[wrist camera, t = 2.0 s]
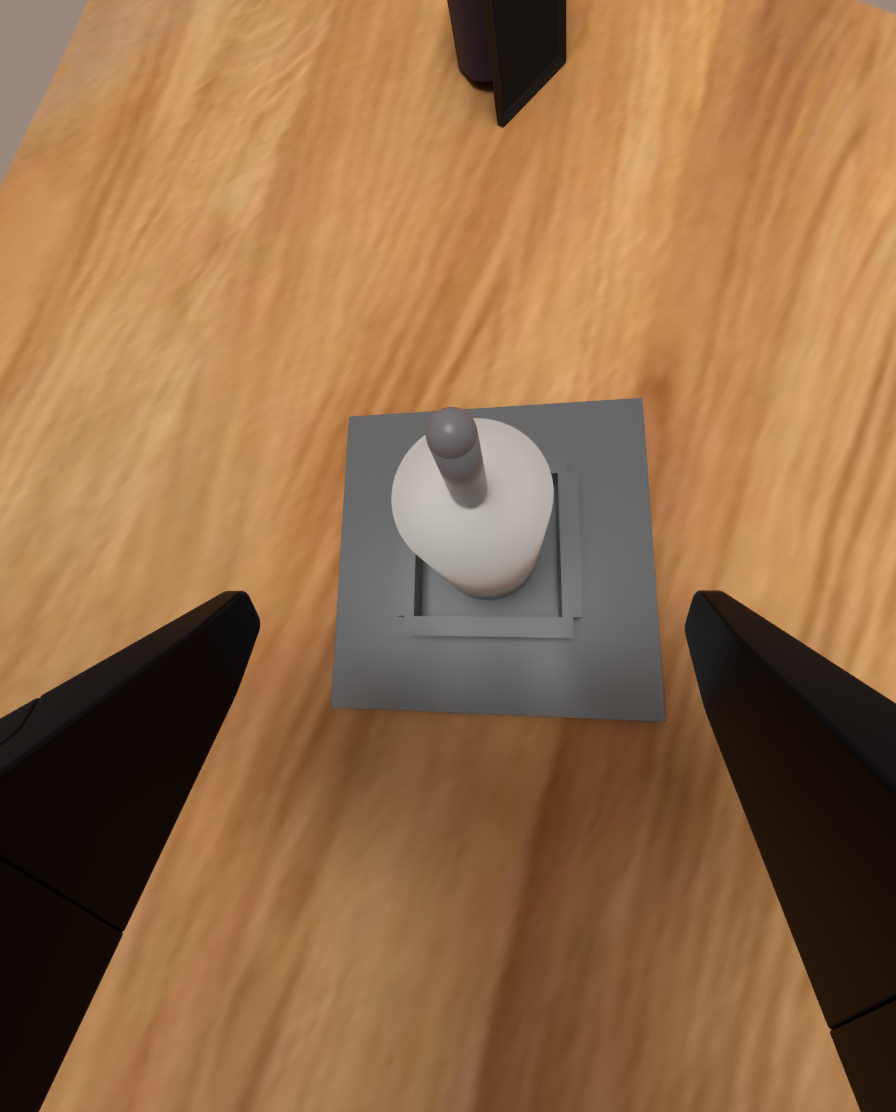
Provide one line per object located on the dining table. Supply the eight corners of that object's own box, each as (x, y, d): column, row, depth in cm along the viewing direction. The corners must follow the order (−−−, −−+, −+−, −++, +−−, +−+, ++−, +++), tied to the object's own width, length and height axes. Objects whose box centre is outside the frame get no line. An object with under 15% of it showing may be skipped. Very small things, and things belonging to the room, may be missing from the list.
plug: (557, 567, 19) (625, 456, 7) (470, 618, 19) (397, 588, 7) (505, 486, 20) (491, 272, 8) (423, 534, 20) (295, 392, 8)
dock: (661, 719, 18) (679, 729, 16) (335, 705, 20) (315, 712, 18) (639, 403, 20) (652, 378, 18) (352, 421, 22) (337, 400, 20)
